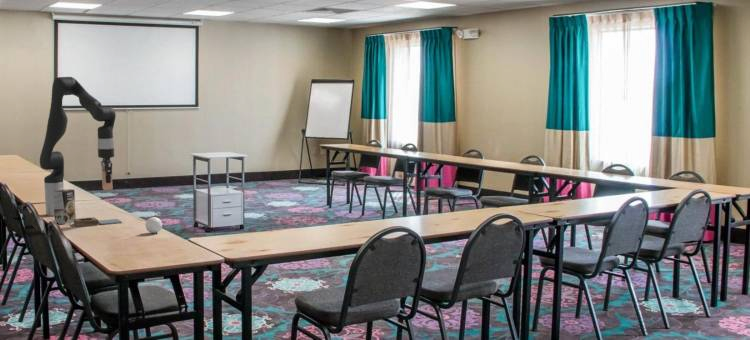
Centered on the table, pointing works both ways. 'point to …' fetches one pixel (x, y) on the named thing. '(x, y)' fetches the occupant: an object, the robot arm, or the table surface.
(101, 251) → the table surface
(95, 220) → the pocket block
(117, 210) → the table surface
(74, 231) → the table surface
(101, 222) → the pad
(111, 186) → the peg
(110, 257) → the table surface
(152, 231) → the white sphere
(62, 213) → the coffee box
